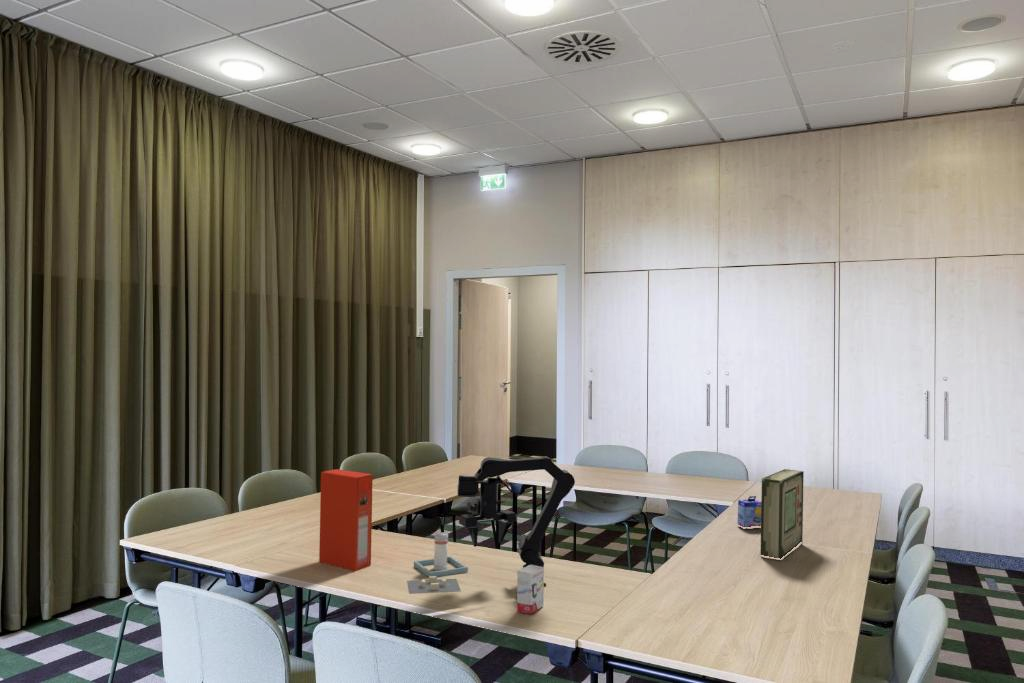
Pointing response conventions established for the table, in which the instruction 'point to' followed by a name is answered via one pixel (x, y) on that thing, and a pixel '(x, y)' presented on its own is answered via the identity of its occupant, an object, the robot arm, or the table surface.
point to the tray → (450, 559)
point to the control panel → (781, 512)
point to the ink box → (530, 589)
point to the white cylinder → (440, 551)
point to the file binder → (345, 519)
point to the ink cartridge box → (749, 512)
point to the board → (433, 585)
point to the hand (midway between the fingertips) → (487, 544)
